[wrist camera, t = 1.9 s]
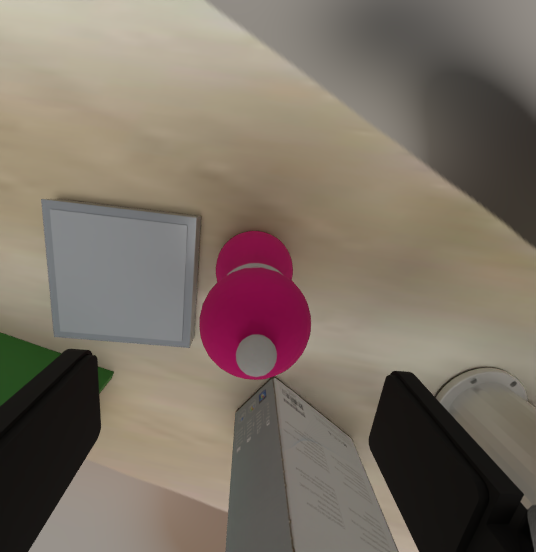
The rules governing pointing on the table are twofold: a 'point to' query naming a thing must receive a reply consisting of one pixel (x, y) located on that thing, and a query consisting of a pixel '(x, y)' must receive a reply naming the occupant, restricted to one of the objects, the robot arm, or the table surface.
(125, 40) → the table surface
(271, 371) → the pepper mill
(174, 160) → the table surface
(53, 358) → the hardback book
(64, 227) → the slate stand
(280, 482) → the hard drive box
